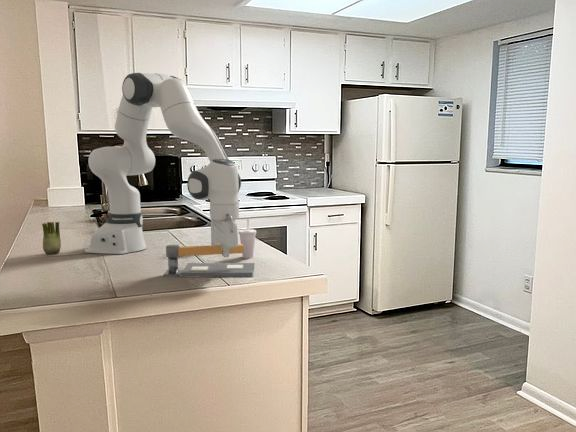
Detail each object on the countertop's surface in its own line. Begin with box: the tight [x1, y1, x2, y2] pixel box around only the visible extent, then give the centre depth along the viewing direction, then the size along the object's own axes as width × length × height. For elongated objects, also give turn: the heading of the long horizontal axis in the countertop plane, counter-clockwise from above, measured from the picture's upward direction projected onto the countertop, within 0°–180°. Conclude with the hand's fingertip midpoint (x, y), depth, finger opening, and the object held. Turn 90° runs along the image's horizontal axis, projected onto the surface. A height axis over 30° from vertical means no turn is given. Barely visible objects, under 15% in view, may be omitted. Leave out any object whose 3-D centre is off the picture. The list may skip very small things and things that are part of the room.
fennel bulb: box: [41, 221, 62, 255], centre depth 185 cm, size 6×5×12 cm
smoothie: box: [238, 218, 257, 260], centre depth 180 cm, size 6×6×14 cm
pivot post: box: [163, 257, 184, 277], centre depth 159 cm, size 5×5×6 cm
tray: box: [180, 262, 255, 278], centre depth 162 cm, size 22×12×2 cm, turn 91°
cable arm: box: [165, 243, 243, 258], centre depth 160 cm, size 24×4×3 cm, turn 101°
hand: (225, 256), depth 158 cm, fingers closed
